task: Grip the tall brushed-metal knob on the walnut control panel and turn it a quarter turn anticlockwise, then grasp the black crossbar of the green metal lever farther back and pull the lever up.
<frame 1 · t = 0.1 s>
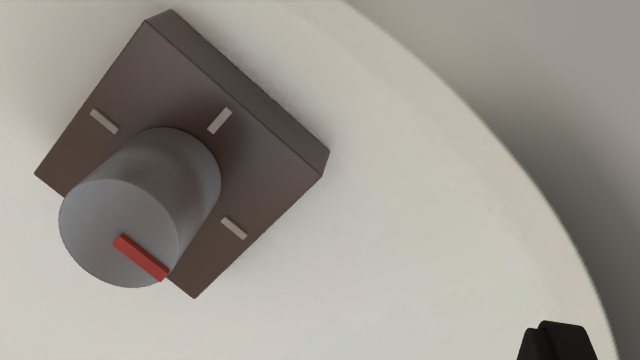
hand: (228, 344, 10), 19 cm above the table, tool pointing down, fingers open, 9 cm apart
dial: (146, 204, 24), point 6 cm above the table, hinge at 0.0°
panel: (193, 150, 30), on the table
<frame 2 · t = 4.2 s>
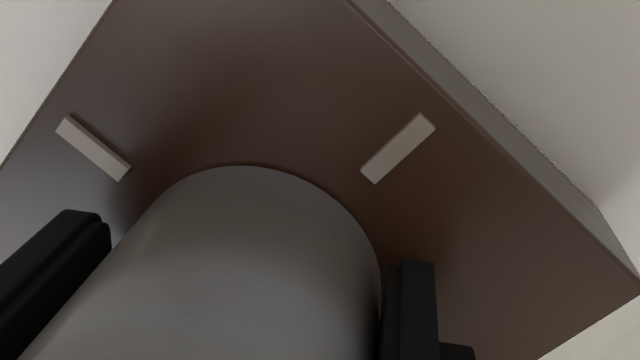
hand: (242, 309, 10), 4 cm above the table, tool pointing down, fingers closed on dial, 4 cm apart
panel: (286, 205, 14), on the table
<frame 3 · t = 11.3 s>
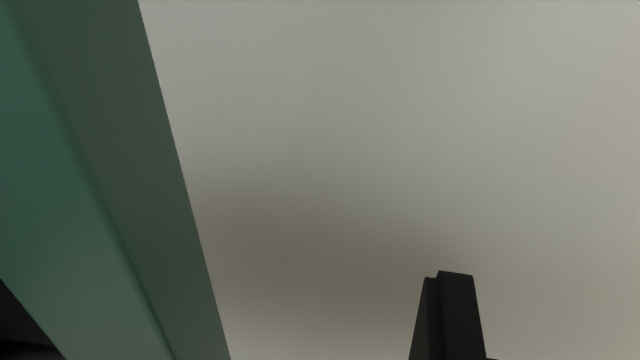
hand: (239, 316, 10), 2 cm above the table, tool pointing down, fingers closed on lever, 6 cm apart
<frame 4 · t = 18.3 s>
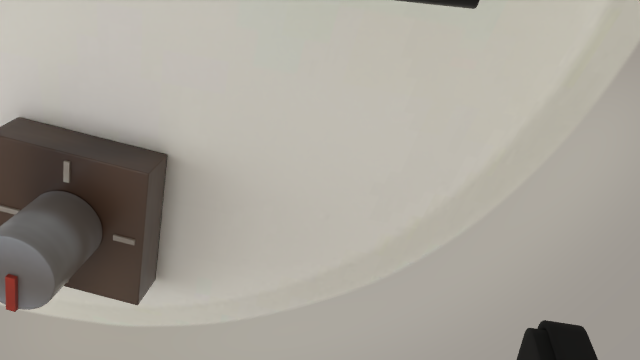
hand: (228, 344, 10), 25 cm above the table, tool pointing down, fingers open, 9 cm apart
dial: (40, 248, 34), point 6 cm above the table, hinge at 89.2°
panel: (90, 202, 39), on the table
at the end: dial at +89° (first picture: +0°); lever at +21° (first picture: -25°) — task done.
